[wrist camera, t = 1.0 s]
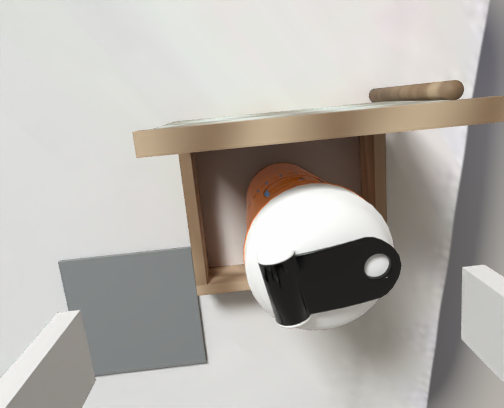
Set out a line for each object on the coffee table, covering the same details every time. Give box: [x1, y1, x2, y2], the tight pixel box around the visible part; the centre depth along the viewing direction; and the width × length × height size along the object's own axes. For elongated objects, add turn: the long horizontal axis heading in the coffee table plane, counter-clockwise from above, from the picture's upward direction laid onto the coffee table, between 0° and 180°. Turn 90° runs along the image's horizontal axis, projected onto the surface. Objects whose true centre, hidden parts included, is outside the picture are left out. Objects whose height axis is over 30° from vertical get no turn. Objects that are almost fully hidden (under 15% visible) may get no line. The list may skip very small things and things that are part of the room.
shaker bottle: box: [244, 163, 401, 330], centre depth 31 cm, size 9×9×20 cm
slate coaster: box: [58, 247, 206, 376], centre depth 43 cm, size 13×13×1 cm
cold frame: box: [132, 80, 504, 296], centre depth 31 cm, size 19×17×20 cm
